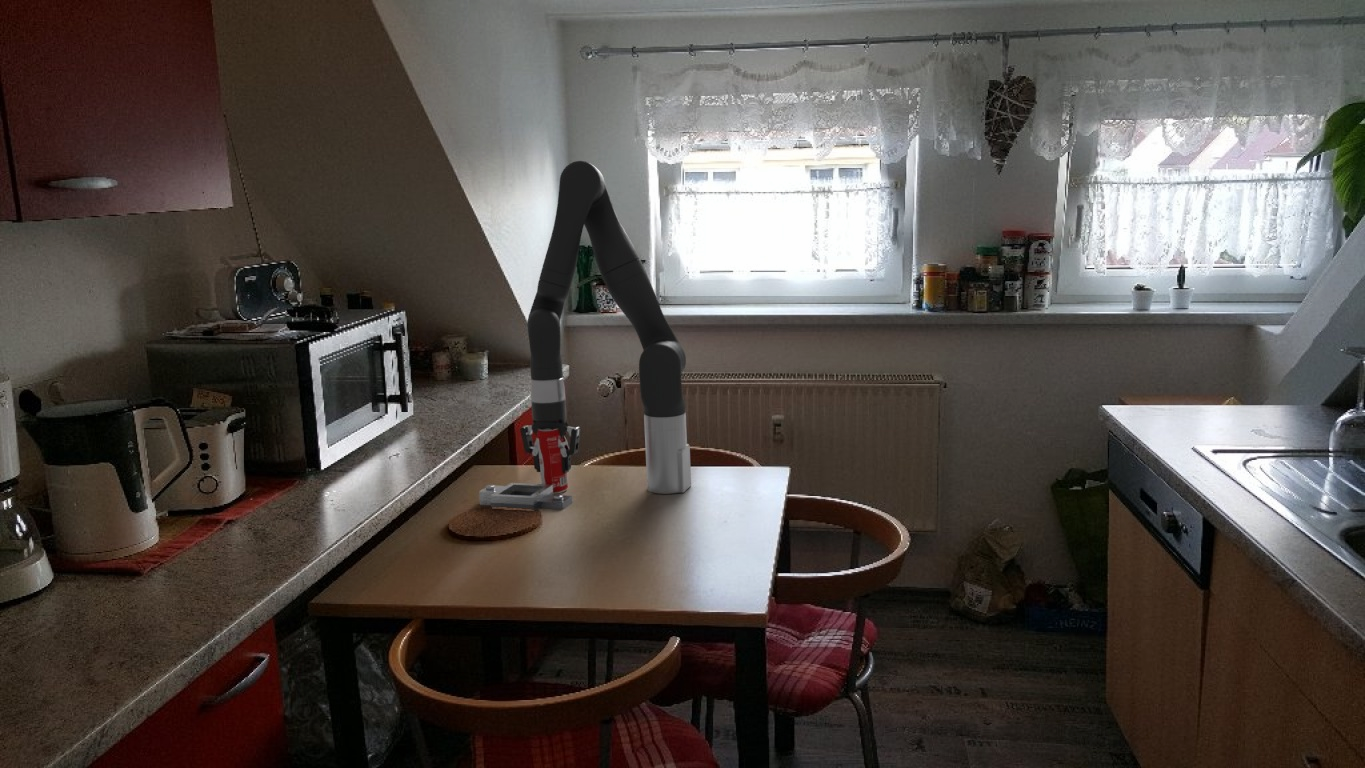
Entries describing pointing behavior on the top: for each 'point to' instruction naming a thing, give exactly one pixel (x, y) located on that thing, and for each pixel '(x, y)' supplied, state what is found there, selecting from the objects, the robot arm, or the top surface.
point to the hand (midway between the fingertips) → (552, 471)
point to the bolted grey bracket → (523, 496)
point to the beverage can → (551, 460)
